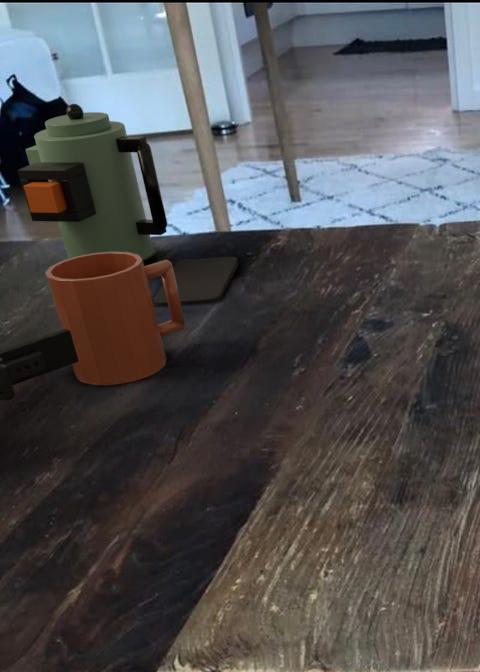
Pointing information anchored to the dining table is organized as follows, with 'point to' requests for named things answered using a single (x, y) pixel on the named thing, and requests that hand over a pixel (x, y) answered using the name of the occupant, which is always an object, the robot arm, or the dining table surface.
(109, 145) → the kettle
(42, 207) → the switch
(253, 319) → the dining table surface
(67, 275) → the mug
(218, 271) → the phone
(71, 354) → the robot arm
